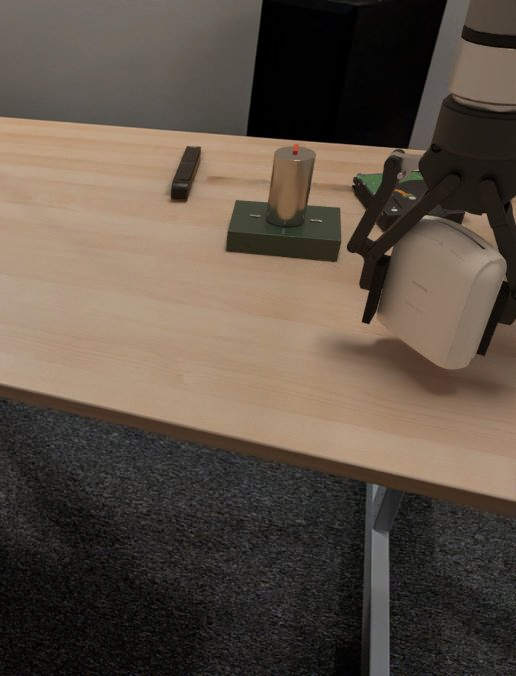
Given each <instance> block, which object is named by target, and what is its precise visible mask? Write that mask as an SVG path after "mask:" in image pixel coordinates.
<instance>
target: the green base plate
mask: <svg viewBox="0 0 516 676" xmlns="http://www.w3.org/2000/svg"><path fill="white" fill-rule="evenodd" d="M267 205H268V201H258V200H257V201H254V200H242V199H241V200H240V199H235V202H234V206H233V209H232V213H231V217H230V220H229V225H228V228H227V233H226V244H225V252H233V253H243V254H253V255H263V256H272V257H273V256H276V257H284V258H285V257H287V258H296V259H306V260H315V261H326V262H338V258H339V256H340V255H339V254H340V250H341V244H342V218H341V217H342V215H341V207H336V206H324V205H323V206H322V205H311V204H309V205H307V211H306V217H305V221H304V223H302V224H301V225H298V226H293V227H283V226H277V225H274V224H272V223H270V222H268V221H267V219H266V213H267Z"/></svg>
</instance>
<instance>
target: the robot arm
mask: <svg viewBox="0 0 516 676" xmlns="http://www.w3.org/2000/svg"><path fill="white" fill-rule="evenodd" d="M446 89H447V90H448V91H449V92H450V93H449V94H448V95H447V96H446V97H444V98H443V99H442V101H441V104H440V108H439V112H438V116H437V120H436V124H435V127H434V131H433V134H432V138H431V142H430V145H429V147H428V149H427V150H426V151H425V152H424V153H423V154H418V153H406V151H405V150H404V149H401V148H396V149H394V150H393V151H392V152H391V153H390V155H389V156H388V157H387V158H386V159H385V161H384V163H383V167H382V168H383V169H382V173H383V176H382V183H381V184H380V186H379V188H378V190H377V192H376V193H375V195H374V197H373V199H372V201H371V202H370V204H369V206H368V208H366V209H365V212H363V215H362V216H361V218H360V220H359V222H358V223H357V226H356V228H355V229H354V231H353V233H352V235H351V236H350V238H349V240H348V242H347V244H346V250H347V252H348V253H350V254H357V255H359V256H361V258H362V259H363V265H362V269H361V274H360V279H359V281H358V286H359V289H361V290H365V291H368V293H367V298H366V302H365V305H364V310H363V314H362V318H361V323H362V324H366V325H370V323H371V322H372V320H373V318H374V317H375V315H376V314H377V310H378V305H379V301H380V297H381V293H382V289H383V285H384V281H385V277H386V273H387V269H388V265H389V261H390V257H391V254H390V255H389V254H387V252H389V250H390V249H392V248H393V246H394V245H395V244H396V243H397V242H398V241H399V240H400V239H401V238H402V237H403V236H404V235H405V234H406V233H407V232H408V231H409V230H410V229H411V228H413V227H414V226H415V225H416V224H417V223H418V222H419V221H420V220H421V219H422V218H423V217H424V216H426V215H427V214H428V213H429V212H430V211H432V210H433V209H434V208H435V207H436V206H437V205H440V206H442V207H441V209H446V210H463V211H465V213H468V214H470V215H474V216H481V217H482V216H483V215H485V214H486V215H485V216H486V218H487V222H488V224H489V225H488V226H489V228H491V229H492V233H493V236H494V240H495V243H496V247H497V251H498V252H499V253H500V254H501V255H502V256H503V258H504V259H505V261H506V264H507V269H506V273H505V278H506V280H503V281H502V284H501V287H500V290H499V292H498V295H497V298H496V300H495V303H494V306H493V308H492V311H491V314H490V317H489V319H488V322H487V325H486V327H485V330H484V333H483V336H482V339H481V341H480V344H479V347H478V349H477V352H476V355H479V356H482V357H486V355H487V352H488V349H489V348H490V345H491V342H492V339H493V337H494V335H495V332H496V329H497V328H498V327H497V326H498V324H502V325H506V326H508V327H511V325H512V326H513V324H514V323H515V322H516V219H515V216H514V212H513V211H514V208H513V203H512V200H513V199H514V198H516V0H469V2H468V7H467V10H466V14H465V19H464V23H463V26H462V29H461V34H460V35H459V38H458V42H457V46H456V49H455V53H454V57H453V60H452V64H451V68H450V72H449V76H448V80H447V82H446ZM417 170H418V171H420V173H421V175H422V177H423V179H424V181H425V183H426V185H427V188H428V189H427V190H426V191H425V192H424V193H423V194H422V195H421V196H420V198H419V199H418V200H417V201H416V202H415V203H413V204H412V205H411V206H410V207H409V208H408V209H407V210H406V211H405V212H404V213H403V214H402V215H401V216H400V217H399V218H398V219H397V220H396V221H395V222H394V223H393V224H392V225H391V226H390V227H389V228H388V229H387V230H384V232H383V233H381V235H380V236H379V237H378V238H376V240H373V239H371V238H369V236H370V234H371V232H372V231H373V228H374V227H375V225H376V224H377V223H378V222H377V220H378V218H379V217H380V215H381V213H382V211H383V210H384V208H385V206H386V204H387V203H388V201H389V199H390V197H391V196H392V194H393V192H394V191H395V189H396V187H397V185H398V184H399V182H400V180H405V179H406V178H408V177H409V175H410V174H411V172H412V171H417Z"/></svg>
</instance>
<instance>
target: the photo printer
mask: <svg viewBox="0 0 516 676" xmlns="http://www.w3.org/2000/svg"><path fill="white" fill-rule="evenodd" d="M390 256H391V257H390V261H389V265H388V269H387V273H386V277H385V281H384V285H383V288H382V292H381V296H380V300H379V304H378V307H377V311H376V320H377V322H379V324H381V326H383V327H384V328H386V330H388V331H389V332H390V333H392V334H393V335H394V336H395V337H397V338H398V339H400V340H401V341H402V342H403V343H405V344H406V345H407V346H409V347H410V348H411V349H413V350H414V351H416V352H417V353H419V354H420V355H422V356H423V357H424V358H425V359H427V360H428V361H430V362H431V363H434V364H435V365H436V366H438V367H439V368H442V369H443V368H444V369H445V370H460V369H463V368H466V367H467V366H468V365H469V364H470V363H471V360H473V359H474V358H475V356H476V355H477V354H476V352H477V349H478V347H479V344H480V341H481V339H482V336H483V333H484V330H485V327H486V325H487V322H488V319H489V317H490V314H491V311H492V308H493V306H494V303H495V300H496V298H497V295H498V292H499V290H500V287H501V285H502V282H503V281H504V279H505V277H506V275H505V273H506V269H507V264H506V261H505V259H504V258H503V256H502V255H501V254H500V253H499V250H498V249H496V248H495V246H493V244H491V243H490V242H489V241H488V240H486V239H485V238H484V237H482V236H481V235H480V234H478V233H476V232H475V231H473V230H472V229H470V228H468V227H467V226H464V225H462V224H461V225H460V224H458V223H456V222H453V221H450V220H447V219H444V218H440V217H435V216H428V215H426V216H424V217H423V218H422V219H421V220H420V221H419V222H418V223H417V224H416V225H415V226H414V227H413V228H411V229H410V230H409V231H408V232H407V233H406V234H405V235H404V236H403V237H402V238H401V239H400V240H399V241H398V242H397V243H396V244H395V245H394V246H392V248H391V254H390Z"/></svg>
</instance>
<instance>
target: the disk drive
mask: <svg viewBox="0 0 516 676" xmlns="http://www.w3.org/2000/svg"><path fill="white" fill-rule="evenodd" d="M382 176H383V172H382V173H381V172H380V173H379V172H378V173H377V172H376V173H362V172H359V173H356V176H354V177H353V178H352V183H353V184H352V185H351V189H352V191H353V192H354V194H355V195H356V196H357V197H358V199H359V200H360V202H361V203H362V204H363V205H364V207H365V208H366V209H367V208H368V206H369V204H370V202H371V201H372V199H373V197H374V195H375V193H376V192H377V190H378V188H379V186H380V184H381V183H382ZM427 189H428V188H427V185H426V183H425V181H424V179H423V177H422V175H421V173H420V171H419V170H413V171H412V172H411V174H410V175H409V177H408V178H406V179H405V180H400V182H399V184H398V185H397V187H396V189H395V191H394V192H393V194H392V196H391V197H390V199H389V201H388V203H387V204H386V206H385V208H384V210H383V211H382V213H381V215H380V217H379V218H378V220H377V222H376V223H378V225H379V226H380V227H381V228H382V229H383V230H384V231H386V230H387V229H388V228H389V227H390V226H391V225H392V224H393V223H394V222H395V221H396V220H397V219H398V218H399V217H400V216H401V215H402V214H403V213H404V212H405V211H406V210H407V209H408V208H409V207H410V206H411V205H412V204H413V203H415V202H416V201H417V200H418V199H419V198H420V196H421V195H422V194H423V193H424V192H425V191H426V190H427ZM441 207H442V206H440V205H437V206H436V207H435V208H434V209H433V210H432V211H430V212H429V213H428V214H427V215H428V216H435V217H440V218H444V219H447V220H450V221H453V222H456V223H458V224H460V225H462V224H463V221H464V218H465V215H466V211H463V210H446V209H441Z"/></svg>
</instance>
